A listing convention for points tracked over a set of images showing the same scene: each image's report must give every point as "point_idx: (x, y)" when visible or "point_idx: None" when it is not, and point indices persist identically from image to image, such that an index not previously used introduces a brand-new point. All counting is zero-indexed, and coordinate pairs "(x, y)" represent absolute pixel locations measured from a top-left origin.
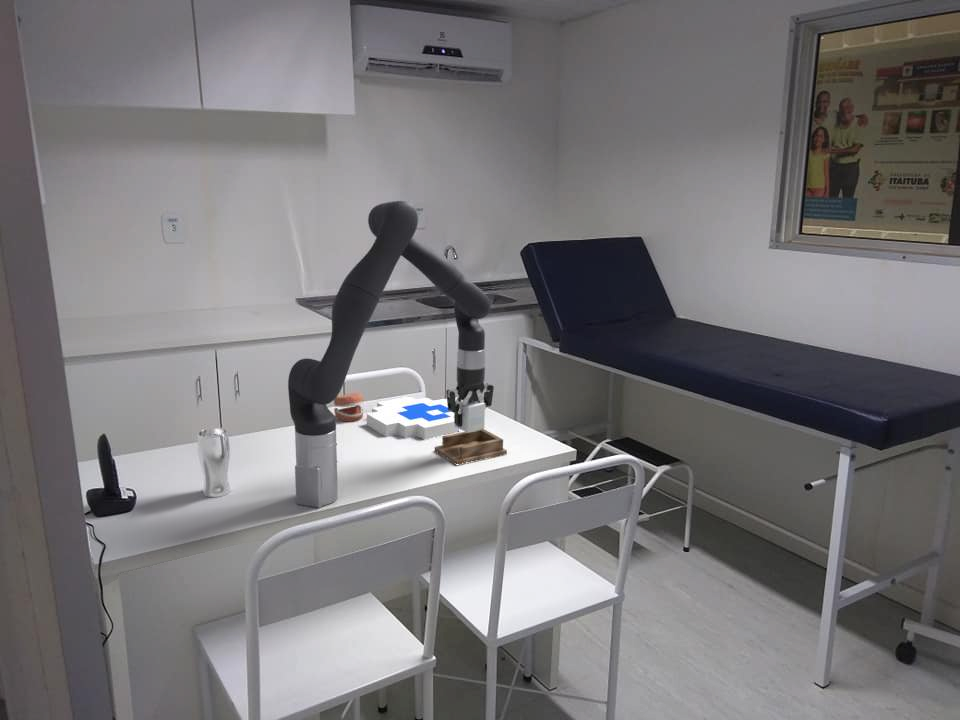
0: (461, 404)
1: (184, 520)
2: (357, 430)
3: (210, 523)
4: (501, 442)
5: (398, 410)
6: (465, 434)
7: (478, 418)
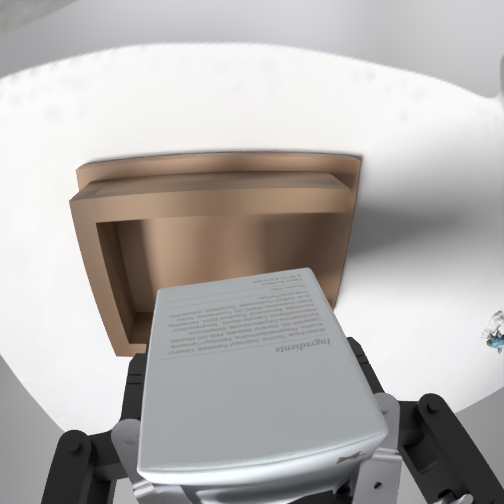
0: (397, 461)
1: None
2: None
3: None
4: (84, 194)
5: None
6: None
7: (221, 343)
